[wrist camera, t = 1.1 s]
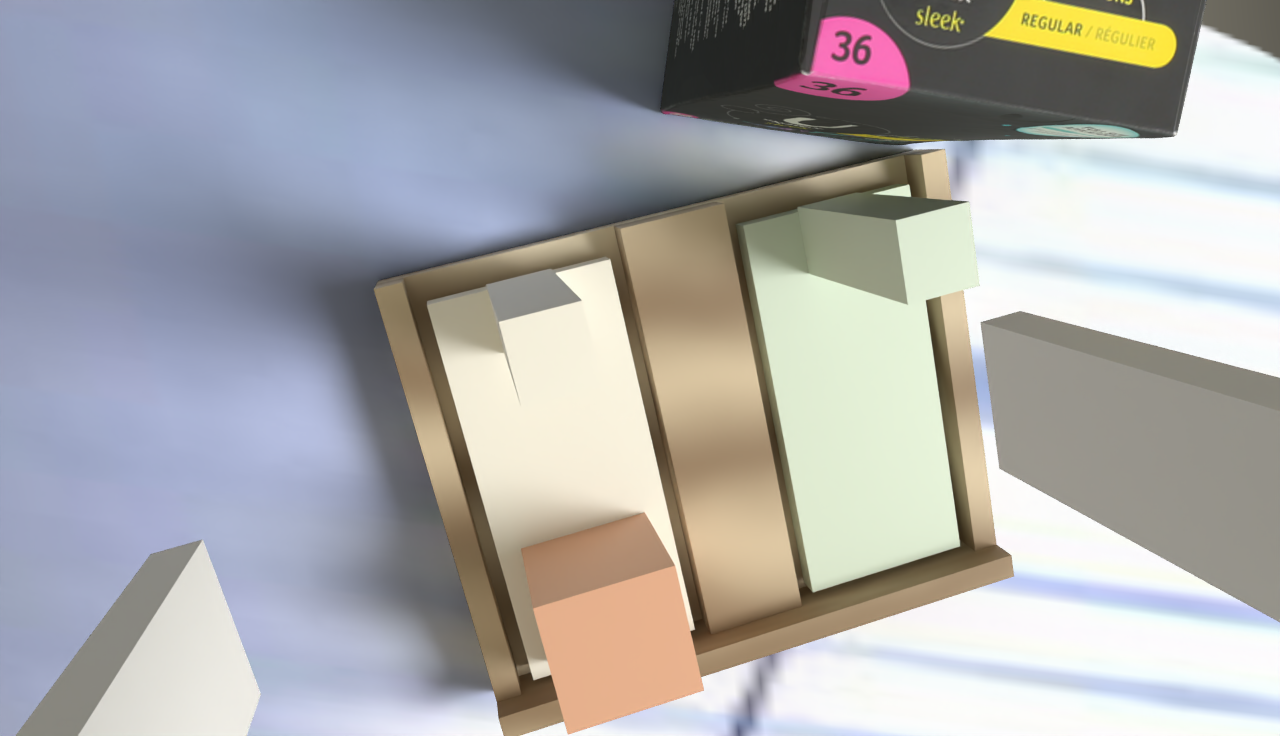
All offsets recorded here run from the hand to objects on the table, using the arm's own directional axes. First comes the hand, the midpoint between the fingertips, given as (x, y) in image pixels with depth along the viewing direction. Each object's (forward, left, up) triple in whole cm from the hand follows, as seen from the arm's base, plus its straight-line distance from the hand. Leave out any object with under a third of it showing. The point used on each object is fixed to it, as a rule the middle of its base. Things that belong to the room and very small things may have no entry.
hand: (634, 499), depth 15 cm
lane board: (+7, +6, -22) cm, 24 cm away
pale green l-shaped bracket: (+7, +12, -21) cm, 25 cm away
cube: (+11, 0, -20) cm, 23 cm away
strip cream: (+7, 0, -21) cm, 22 cm away
